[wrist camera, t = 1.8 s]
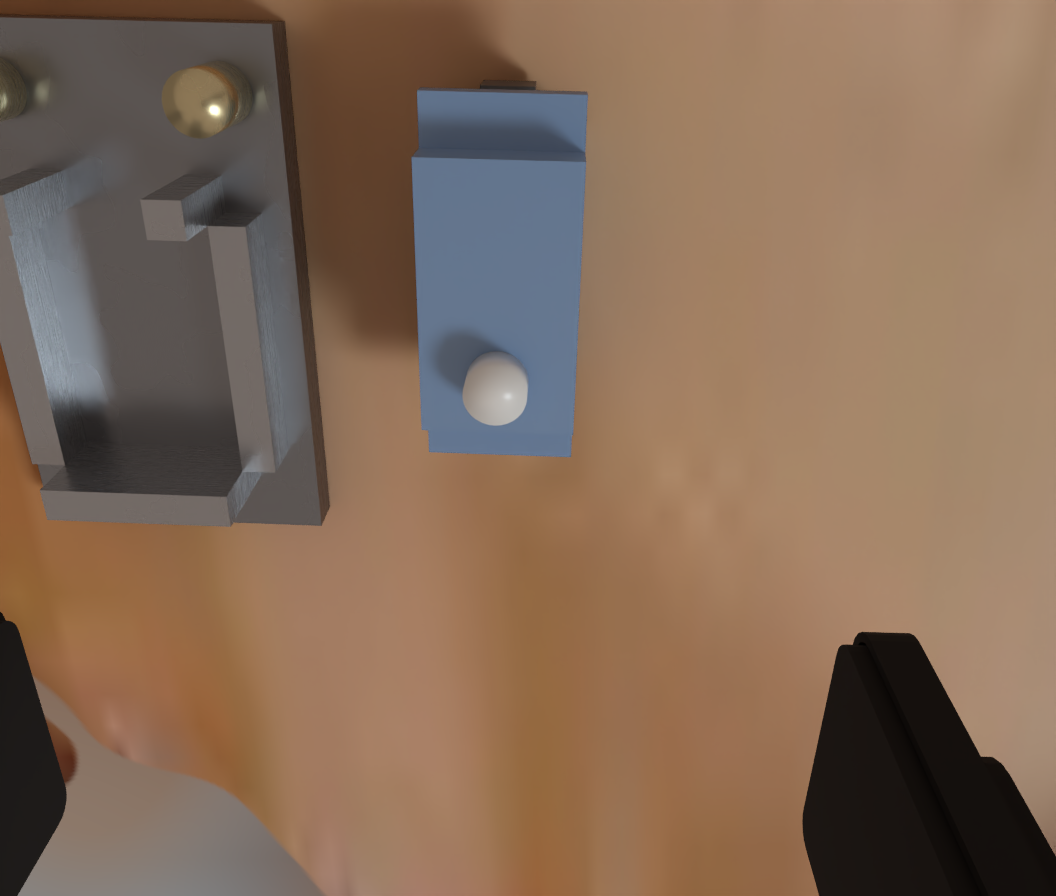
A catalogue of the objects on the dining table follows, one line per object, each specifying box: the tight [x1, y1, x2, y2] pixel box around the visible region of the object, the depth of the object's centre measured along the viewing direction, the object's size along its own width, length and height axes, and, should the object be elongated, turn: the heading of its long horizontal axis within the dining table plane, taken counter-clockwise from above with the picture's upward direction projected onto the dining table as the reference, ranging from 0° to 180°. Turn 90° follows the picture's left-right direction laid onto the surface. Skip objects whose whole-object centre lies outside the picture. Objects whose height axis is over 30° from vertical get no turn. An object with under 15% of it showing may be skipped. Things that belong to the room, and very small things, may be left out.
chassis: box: [0, 14, 330, 527], centre depth 26 cm, size 15×9×4 cm, turn 179°
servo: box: [412, 80, 588, 457], centre depth 25 cm, size 10×4×6 cm, turn 179°
